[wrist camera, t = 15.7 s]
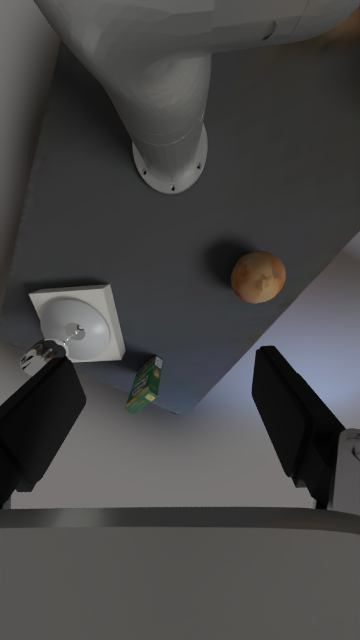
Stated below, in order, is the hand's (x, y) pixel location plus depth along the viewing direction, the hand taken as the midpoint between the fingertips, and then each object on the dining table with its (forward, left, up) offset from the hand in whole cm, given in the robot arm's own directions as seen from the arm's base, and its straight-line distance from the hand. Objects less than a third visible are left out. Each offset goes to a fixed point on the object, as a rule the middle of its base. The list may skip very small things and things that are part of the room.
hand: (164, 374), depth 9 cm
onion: (+2, +15, -34) cm, 37 cm away
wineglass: (+11, -24, -28) cm, 38 cm away
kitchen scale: (+11, -24, -33) cm, 42 cm away
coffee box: (+25, -10, -34) cm, 43 cm away
